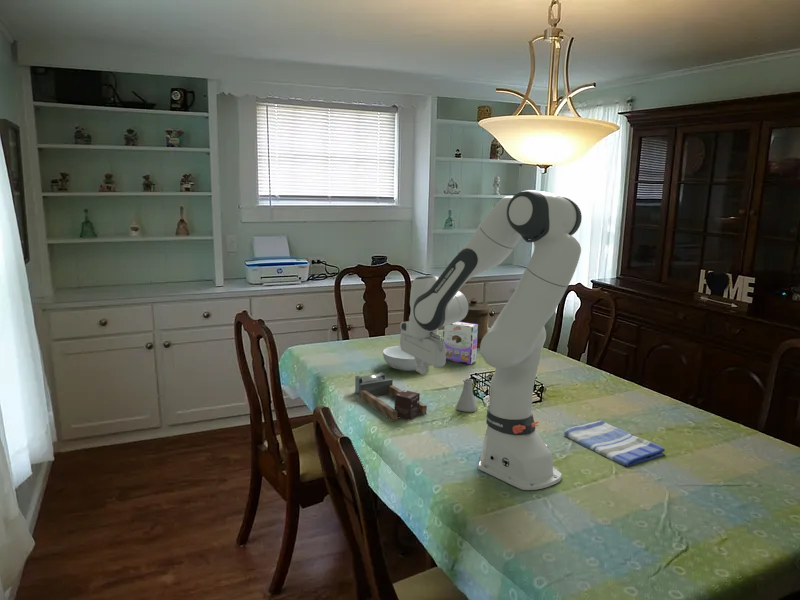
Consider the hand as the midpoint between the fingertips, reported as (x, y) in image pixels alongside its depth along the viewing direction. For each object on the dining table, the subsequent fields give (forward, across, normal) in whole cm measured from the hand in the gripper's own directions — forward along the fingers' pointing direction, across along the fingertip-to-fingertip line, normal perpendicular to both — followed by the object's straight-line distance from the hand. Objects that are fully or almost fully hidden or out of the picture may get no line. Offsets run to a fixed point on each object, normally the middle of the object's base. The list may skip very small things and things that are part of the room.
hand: (421, 372), depth 176 cm
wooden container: (+17, +70, -74) cm, 103 cm away
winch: (+17, +32, 0) cm, 37 cm away
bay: (+17, +16, 0) cm, 24 cm away
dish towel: (+16, -38, -42) cm, 59 cm away
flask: (+17, +4, -21) cm, 27 cm away
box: (+17, +8, 0) cm, 19 cm away
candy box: (+17, +50, -52) cm, 74 cm away
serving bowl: (+18, +50, -27) cm, 60 cm away
